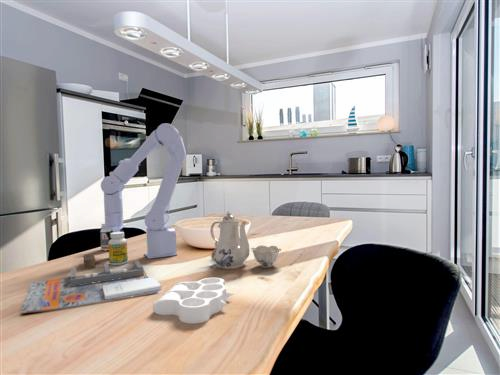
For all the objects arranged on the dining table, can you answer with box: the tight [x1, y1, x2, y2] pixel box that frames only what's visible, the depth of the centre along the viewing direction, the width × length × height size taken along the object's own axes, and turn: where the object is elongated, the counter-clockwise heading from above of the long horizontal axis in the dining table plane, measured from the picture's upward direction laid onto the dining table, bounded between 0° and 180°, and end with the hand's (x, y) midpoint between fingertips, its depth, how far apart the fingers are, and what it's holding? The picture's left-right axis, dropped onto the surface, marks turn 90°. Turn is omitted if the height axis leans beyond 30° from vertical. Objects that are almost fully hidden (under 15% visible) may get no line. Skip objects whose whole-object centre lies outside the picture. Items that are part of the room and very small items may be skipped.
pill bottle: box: [99, 222, 111, 252], centre depth 126 cm, size 6×6×10 cm
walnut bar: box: [83, 253, 96, 270], centre depth 104 cm, size 3×8×3 cm, turn 27°
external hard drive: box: [101, 276, 162, 300], centre depth 82 cm, size 2×8×12 cm
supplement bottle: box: [108, 231, 129, 266], centre depth 106 cm, size 5×5×10 cm
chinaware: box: [210, 210, 282, 270], centre depth 104 cm, size 28×17×17 cm, turn 47°
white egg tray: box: [151, 277, 234, 324], centre depth 72 cm, size 3×18×15 cm
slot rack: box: [70, 259, 145, 287], centre depth 94 cm, size 18×10×2 cm, turn 117°
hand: (115, 252), depth 115 cm, fingers closed
